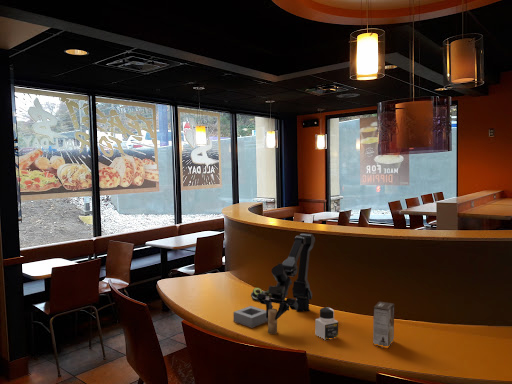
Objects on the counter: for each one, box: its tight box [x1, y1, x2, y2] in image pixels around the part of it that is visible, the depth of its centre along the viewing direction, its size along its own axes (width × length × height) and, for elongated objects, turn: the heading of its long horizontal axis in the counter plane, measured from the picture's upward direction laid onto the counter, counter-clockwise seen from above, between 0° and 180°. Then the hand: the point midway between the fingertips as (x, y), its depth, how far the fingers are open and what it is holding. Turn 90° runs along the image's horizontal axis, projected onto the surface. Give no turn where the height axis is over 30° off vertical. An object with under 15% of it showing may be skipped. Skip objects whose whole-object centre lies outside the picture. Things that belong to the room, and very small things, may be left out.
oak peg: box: [267, 308, 278, 335], centre depth 174 cm, size 4×4×10 cm
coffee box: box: [372, 301, 395, 346], centre depth 163 cm, size 9×6×16 cm
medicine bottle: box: [314, 307, 339, 341], centre depth 170 cm, size 7×7×12 cm
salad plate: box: [250, 287, 272, 302], centre depth 226 cm, size 19×18×5 cm
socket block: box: [233, 305, 268, 329], centre depth 188 cm, size 12×12×4 cm
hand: (271, 318), depth 173 cm, fingers closed on oak peg, 4 cm apart
